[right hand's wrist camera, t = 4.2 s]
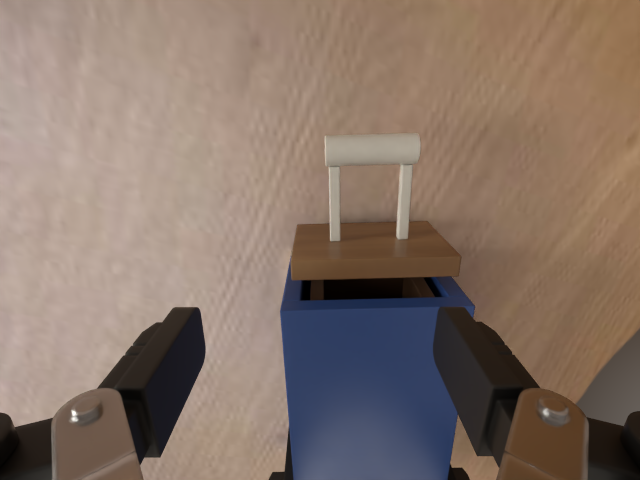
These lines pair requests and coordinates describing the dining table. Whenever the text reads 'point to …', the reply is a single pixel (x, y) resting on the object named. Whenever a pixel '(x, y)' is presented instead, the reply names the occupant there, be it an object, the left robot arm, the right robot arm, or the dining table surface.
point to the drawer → (371, 233)
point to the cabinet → (367, 385)
